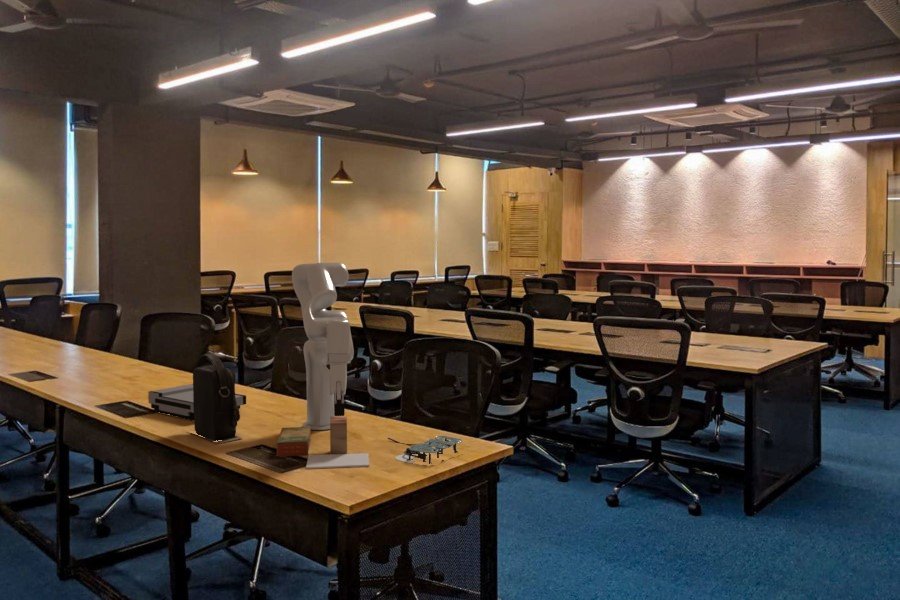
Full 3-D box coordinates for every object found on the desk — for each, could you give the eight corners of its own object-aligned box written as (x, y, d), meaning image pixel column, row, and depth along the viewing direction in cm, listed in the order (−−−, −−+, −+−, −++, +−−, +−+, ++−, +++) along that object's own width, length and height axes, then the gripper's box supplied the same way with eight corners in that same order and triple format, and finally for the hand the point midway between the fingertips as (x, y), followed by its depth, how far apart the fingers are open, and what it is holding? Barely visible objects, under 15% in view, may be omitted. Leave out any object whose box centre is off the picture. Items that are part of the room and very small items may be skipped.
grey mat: (308, 456, 217) (308, 455, 217) (368, 454, 220) (368, 453, 220) (306, 468, 206) (306, 467, 206) (369, 466, 208) (369, 464, 208)
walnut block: (330, 451, 224) (330, 416, 223) (347, 450, 224) (346, 415, 224) (330, 455, 219) (330, 420, 218) (347, 455, 220) (346, 419, 219)
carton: (311, 440, 237) (311, 426, 237) (308, 456, 219) (308, 440, 219) (281, 441, 236) (281, 427, 236) (276, 457, 218) (276, 441, 218)
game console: (200, 424, 260) (199, 401, 259) (148, 412, 278) (148, 391, 278) (246, 413, 277) (246, 392, 276) (195, 403, 295) (194, 383, 295)
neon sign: (398, 425, 241) (471, 439, 224) (398, 438, 241) (471, 452, 224) (355, 439, 224) (430, 454, 207) (355, 452, 224) (430, 469, 207)
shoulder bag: (185, 432, 247) (183, 351, 245) (210, 427, 254) (208, 348, 252) (217, 444, 232) (215, 358, 230) (243, 439, 238) (241, 355, 236)
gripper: (327, 355, 235) (328, 411, 236) (325, 361, 221) (326, 421, 222) (350, 355, 236) (351, 410, 237) (350, 361, 222) (351, 420, 223)
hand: (339, 415), depth 229 cm, fingers closed
